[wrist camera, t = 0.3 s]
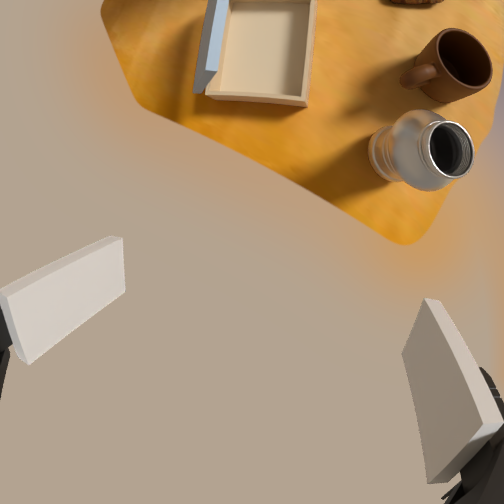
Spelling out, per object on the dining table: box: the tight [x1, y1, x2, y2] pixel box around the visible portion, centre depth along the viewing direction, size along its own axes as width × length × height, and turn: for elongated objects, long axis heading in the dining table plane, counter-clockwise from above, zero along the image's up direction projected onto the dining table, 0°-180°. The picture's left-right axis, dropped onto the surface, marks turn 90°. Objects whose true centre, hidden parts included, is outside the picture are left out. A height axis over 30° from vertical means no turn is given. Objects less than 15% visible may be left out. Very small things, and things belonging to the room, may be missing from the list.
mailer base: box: [205, 0, 317, 107], centre depth 30 cm, size 16×12×4 cm
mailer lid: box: [193, 0, 229, 94], centre depth 23 cm, size 16×12×1 cm
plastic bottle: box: [368, 109, 475, 191], centre depth 24 cm, size 6×7×20 cm
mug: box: [400, 28, 493, 103], centre depth 24 cm, size 12×8×9 cm, turn 118°
